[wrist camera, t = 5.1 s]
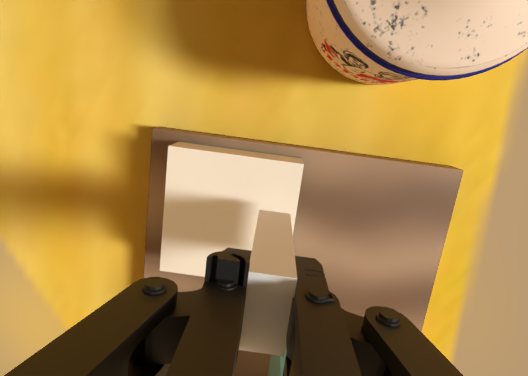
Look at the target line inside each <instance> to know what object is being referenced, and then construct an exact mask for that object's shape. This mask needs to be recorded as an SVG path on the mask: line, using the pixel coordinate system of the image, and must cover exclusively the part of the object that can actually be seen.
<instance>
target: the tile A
mask: <svg viewBox="0 0 528 376" xmlns="http://www.w3.org/2000/svg"><path fill="white" fill-rule="evenodd" d="M303 167H304V163H303V161H302V158H301V157H296V156H289V155H281V154H274V153H266V152H259V151H252V150H244V149H237V148H230V147H222V146H215V145H207V144H200V143H193V142H185V141H180V142H177V143H174V144H172V145H169V146H168V156H167V171H166V185H165V200H164V214H163V228H162V243H161V257H160V271H166V272H173V273H180V274H187V275H194V276H202V277H205V270H206V260H207V256H208V255H210V254H211V253H214V252H219V251H223V250H225V249H226V248H236V249H243V250H250V251H252V246H253V241H254V235H255V230H256V224H257V219H258V213H259V210H266V211H274V212H281V213H288V214H290V216H291V225H292V234H293V231H294V224H295V218H296V212H297V205H298V199H299V193H300V186H301V180H302V174H303Z"/></svg>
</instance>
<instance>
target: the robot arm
mask: <svg viewBox="0 0 528 376" xmlns="http://www.w3.org/2000/svg"><path fill="white" fill-rule="evenodd" d="M285 349H286V351H287V352H286V358H285V364H284V370H283V376H463V375H462V374H461V373H460V372H459V371H458V370H457V369H456V368H455V367H454V366H453V365H452V364H451V362H450V361H449V360H448V359H447V358H446V357H445V356H444V355H443V354H442V353H441V352H440V351H439V350H438V349H437V348H436V347H435V346H434V345H433V344H432V343H431V342H430V341H429V340H428V339H427V338H426V337H425V336H424V335H423V333H422V332H421V331H420V330H419V329H418V328H417V327H416V326H415V325H414V324H413V323H412V322H411V321H410V320H409V319H408V318H407V317H405V316H404V315H403V314H401V313H399V312H397V311H396V310H394V309H392V308H389V307H381V306H373V307H369V308H368V309H366V311H365V315H364V317H362V316H359V315H356V314H353V313H350V312H348V311H345V310H344V309H342V308H341V306H340V302H339V300H338V298H337V297H336V295H334V294H333V293H332V292H330V291H329V289H328V285H327V281H326V278H325V274H324V270H323V267H322V264H321V263H320V262H318V261H317V260H316V259H315V258H308V257H301V256H295V253H294V244H293V234H292V225H291V216H290V214H288V213H281V212H274V211H266V210H259V213H258V219H257V224H256V230H255V235H254V241H253V246H252V251H250V250H243V249H236V248H226V249H225V250H223V251H219V252H214V253H211V254H210V255H208V256H207V260H206V270H205V280H204V284H203V286H202V288H201V289H198V290H194V291H187V292H178V287H177V284H176V283H175V282H174V281H172V280H170V279H167V278H162V277H149V278H144V279H141V280H139V281H137V282H135V283H133V284H132V285H130V286H129V287H128V288H126V289H125V290H123V291H122V292H121V293H119V294H118V295H116V296H115V297H114V298H112V299H111V300H109V301H108V302H107V303H105V304H104V305H102V306H101V307H100V308H98V309H97V310H95V311H94V312H93V313H91V314H90V315H88V316H87V317H86V318H84V319H83V320H81V321H80V322H79V323H77V324H76V325H74V326H73V327H72V328H70V329H69V330H67V331H66V332H65V333H63V334H62V335H60V336H59V337H58V338H56V339H55V340H53V341H52V342H51V343H49V344H48V345H46V346H45V347H43V348H42V349H41V350H39V351H38V352H37V353H35V354H34V355H32V356H31V357H29V358H28V359H27V360H25V361H24V362H23V363H21V364H20V365H18V366H17V367H15V368H14V369H13V370H11V371H10V372H8V373H7V374H6V375H4V376H235V371H236V365H237V358H238V350H243V351H250V352H257V353H264V354H271V355H278V356H284V355H285Z"/></svg>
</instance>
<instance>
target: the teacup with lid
mask: <svg viewBox="0 0 528 376" xmlns="http://www.w3.org/2000/svg"><path fill="white" fill-rule="evenodd" d="M306 11H307V20H308V26H309V30H310V33H311V36H312V39H313V41H314V43H315V45H316V47H317V49H318V51H319V52H320V54H321V55H322V56H323V58H324V59H325V60H326V61H327V62H328V63H329V65H330V66H332V67H333V68H334V69H335V70H336V71H338V72H339V73H341V74H342V75H344V76H346V77H348V78H350V79H352V80H355V81H358V82H361V83H366V84H373V85H386V84H394V83H399V82H405V81H410V80H416V79H425V80H452V79H460V78H464V77H469V76H473V75H476V74H480V73H483V72H486V71H488V70H490V69H493V68H495V67H498V66H500V65H501V64H503V63H505V62H507V61H509V60H511V59H512V58H514V57H515V56H517V55H519V54H520V53H522V52H523V51H524V50H526V49H527V48H528V0H307V1H306Z"/></svg>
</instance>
